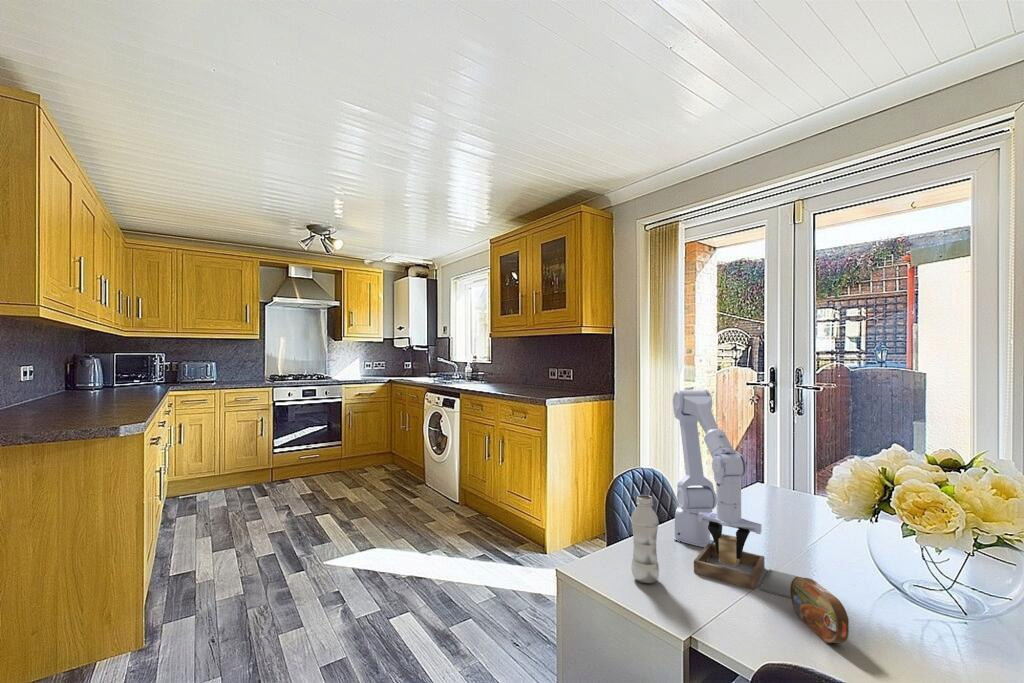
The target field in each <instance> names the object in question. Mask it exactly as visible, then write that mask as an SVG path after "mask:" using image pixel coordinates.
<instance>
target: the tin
mask: <svg viewBox="0 0 1024 683" xmlns="http://www.w3.org/2000/svg"><path fill="white" fill-rule="evenodd" d="M801 577H802V576H798V577H795V578H794V579H793V580H792V583H791V587H790V595H791V598H790V600H791V604H792V605H791V606H792V608H793V609H794V612H795V614H796V615H797V617H798V618H799V619H800V620H801V621H802V622H803V624H805V625H806V626H807V627H808V628H809V629H811V631H813V633H814V634H816V635H817V637H819V638H820V639H821V640H822V641H823V642H825V643H827V644H843V643H845V642H846V641H847V640H848V638H849V627H850V625H849V622H850V620H849V616H848V613H847V610H846V608H845V607H844V604H842V602H841V601H840V600H839V599H838V598H837V596H835V595H833V594H832V593H831V592H830V591H829V590H827V589H826V588H825V587H823V586H822V585H821V584H819V583H818V582H817V581H815V580H814V579H812V578H809V577H802V578H801Z"/></svg>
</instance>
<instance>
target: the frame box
mask: <svg viewBox="0 0 1024 683" xmlns="http://www.w3.org/2000/svg"><path fill="white" fill-rule="evenodd" d="M710 556H711V557H713V556H714V558H718V559H719V554H717V549H716V545H715V543H711V544H710V543H708V545H707V546H706V547H705V548H704V547H703V549H702V550H701V552H700V553H699V554H698V555H697V557H695V559H693V573H694V572H695V573H694V574H697V573H698V574H697V575H700V574H702V576H705V577H707V576H708V578H711V579H715V580H718V581H721V582H725V583H728V584H732V585H736V586H739V587H744V588H747V589H751V590H753V591H755V589H756V587H757V585H758V583H759V580H760V578H761V577H762V574H763V572H764V571H765V564H766V563H765V556H764V555H759V554H755V553H752V552H748V551H747V552H746V551H744V550H743V551H742V557H741V559H740V562H739V563H738V564H742V565H744V566H745V565H746V566H750V567H752V568H753V569H752V572H751V573H747V572H743V571H740V570H736V569H732V568H728V567H725V566H720V565H716V564H714V563H710V562H708V561H709V559H710V558H711V557H710ZM707 560H708V561H707Z"/></svg>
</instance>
